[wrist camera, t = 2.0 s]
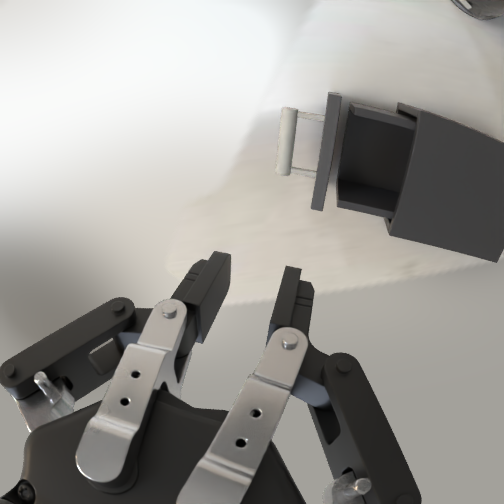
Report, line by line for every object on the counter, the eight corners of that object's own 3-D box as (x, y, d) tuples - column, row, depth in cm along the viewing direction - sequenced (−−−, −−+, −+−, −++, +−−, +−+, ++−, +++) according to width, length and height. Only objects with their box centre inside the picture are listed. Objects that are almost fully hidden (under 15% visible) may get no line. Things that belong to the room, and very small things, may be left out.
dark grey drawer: (280, 177, 36) (267, 201, 29) (290, 86, 29) (279, 86, 23) (417, 206, 33) (433, 237, 26) (439, 120, 26) (465, 132, 20)
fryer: (377, 198, 35) (388, 235, 27) (397, 102, 28) (421, 110, 20) (469, 223, 32) (496, 263, 24) (496, 138, 25) (535, 160, 17)
